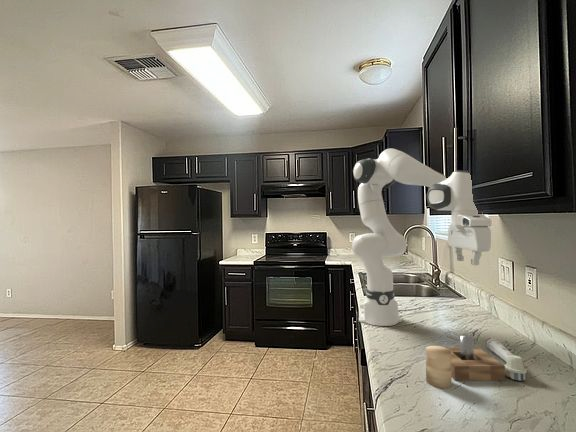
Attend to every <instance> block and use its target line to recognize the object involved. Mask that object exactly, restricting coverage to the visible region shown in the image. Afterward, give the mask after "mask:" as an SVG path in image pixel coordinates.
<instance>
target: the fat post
mask: <svg viewBox="0 0 576 432" xmlns="http://www.w3.org/2000/svg"><path fill="white" fill-rule="evenodd" d="M445 347H446V346H442V345H441V346H440V345H429V346H426V347H425V381H426V384H428V385H429V386H431V387H434V388H436V389H437V388H438V389H449V388H451V387H452V379H453V378H452V377H451V351H450V350H449V349H447V348H445Z"/></svg>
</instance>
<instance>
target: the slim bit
mask: <svg viewBox="0 0 576 432" xmlns="http://www.w3.org/2000/svg"><path fill="white" fill-rule="evenodd" d="M459 347H460V359H461V360H474V355H473V347H474V336H473V335H471V334H468V333H461V334H459Z"/></svg>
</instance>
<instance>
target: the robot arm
mask: <svg viewBox="0 0 576 432" xmlns="http://www.w3.org/2000/svg"><path fill="white" fill-rule="evenodd" d="M468 171H469V170H456V171H453V172H452V173H451V174H450V176H447V177H448V178H446V175H444V174H443V173H441V172H439V171H437V170H434V169H432V168H431V167H429V166H427V165H426V164H423V163H422V162H421V161H418V160H417V159H415V158H414V157H413V156H411V155H409V154H407V153H406V152H404V151H402V150H398V149H396V148H386V149H385V150H383V151H382V152H381V153H380V154H379V156H378V158H376V159H374V158H372V157H370V158H365V159H361V160H358V161H357V162H356V163H355V164H354V166H353V168H352V174H353V179H354V180H355V181H356V182H358V183H359V186H358V187H357V201H358V208H359V213H360V219H361V222H362V224H363V225H364V226H366V227H367V228H369V229H370V230H371V232H370V233H367V232H366V233H363V234H358V235H357V236H355V237H354V238H353V240H352V243H351V249H352V252H353V254H354V255H355V256H356V257H357V258H358V259H359V260H360V261H361V262H362V264H363V265H364V269H365V272H366V287H367V288H366V291H365V299H364V301H363V303H360V304H359V309H360V310H358V321H359V322H360V323H365V324H368V325H373V326H378V327H379V326H380V327H389V326H390V327H391V326H394V325H397V324H398V323H401V322H403V318H401V317H400V316H399V303H398V302H397V301H396V300H395V289H394V273H393V271H392V269H390V267H388V266H385V264H384V261H383V259H384V258H395V257H398V256H401V255H403V254H404V253H406V250H407V248H408V247H407V240H406V238H405V236H404V235H403V234H401V233H400V232H398V231H397V230H396V229H395V227H394V226H393V225H392V223H391V222H390V220H389V218H388V215H387V212H386V208H385V203H384V199H383V194H382V190H383V188H384V189H388V188H390V187H391V186H392V185H394V184H395V183H396V182H397V183H400V184H403V185H408V186H410V185H411V186H423V187H427V188H428V191H427V193H426V200H427V204H428V206H430V207H429V208H431V209H433V210H434V211H435V210H436V211H449V212H450V211H451V224H450V225H449V226H448V229H447V245H448V246H449V247H453V248H454V249H453V250H454V254H455V257H456V259H455V260H456V261H457V262H464V260H465V259H464V257H465V256H464V254H463V250H468V251H472V258H470V265H473V266H479V265H480V260H481V257H482V253H483V252H485V253H486V252H489V251H490V249H491V247H492V246H491V245H492V232H491V228H490V227H491V226H492V222H493V221H492V219H491V218H489V217H487V216H486V215H484V214H483V213H482V214H478V210H477V208H476V206H475V204H474V202H473V194H472V180H471V175H470V173H469V172H468ZM372 232H373V233H372Z"/></svg>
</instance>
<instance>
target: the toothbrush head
mask: <svg viewBox="0 0 576 432" xmlns="http://www.w3.org/2000/svg"><path fill="white" fill-rule="evenodd" d="M485 342H486V343H485V346H486V347H487V349H488V350H490V352H492V353H494V354H495V355H496V356H498V357H499V358H500V359H501V360H502V361H504V362H505V364H503V365H504V366H505V377H507V378H511V380H515V381H520V382H521V381H526V380H527V379H526V378H527V377H526V373H527V372H528V371H527V370H528V369H527V368H526V367H524V363H523V359H522V357H521V356H519V355H514V354H513V353H512V352H511V351H510V350H508V349H507V348H506V347H505V346H504V345H503V343H502V342H501V341H500V340H499V339H496V338H494V337H493V338H491V337H489V338H488V339H487V340H486V341H485Z"/></svg>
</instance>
